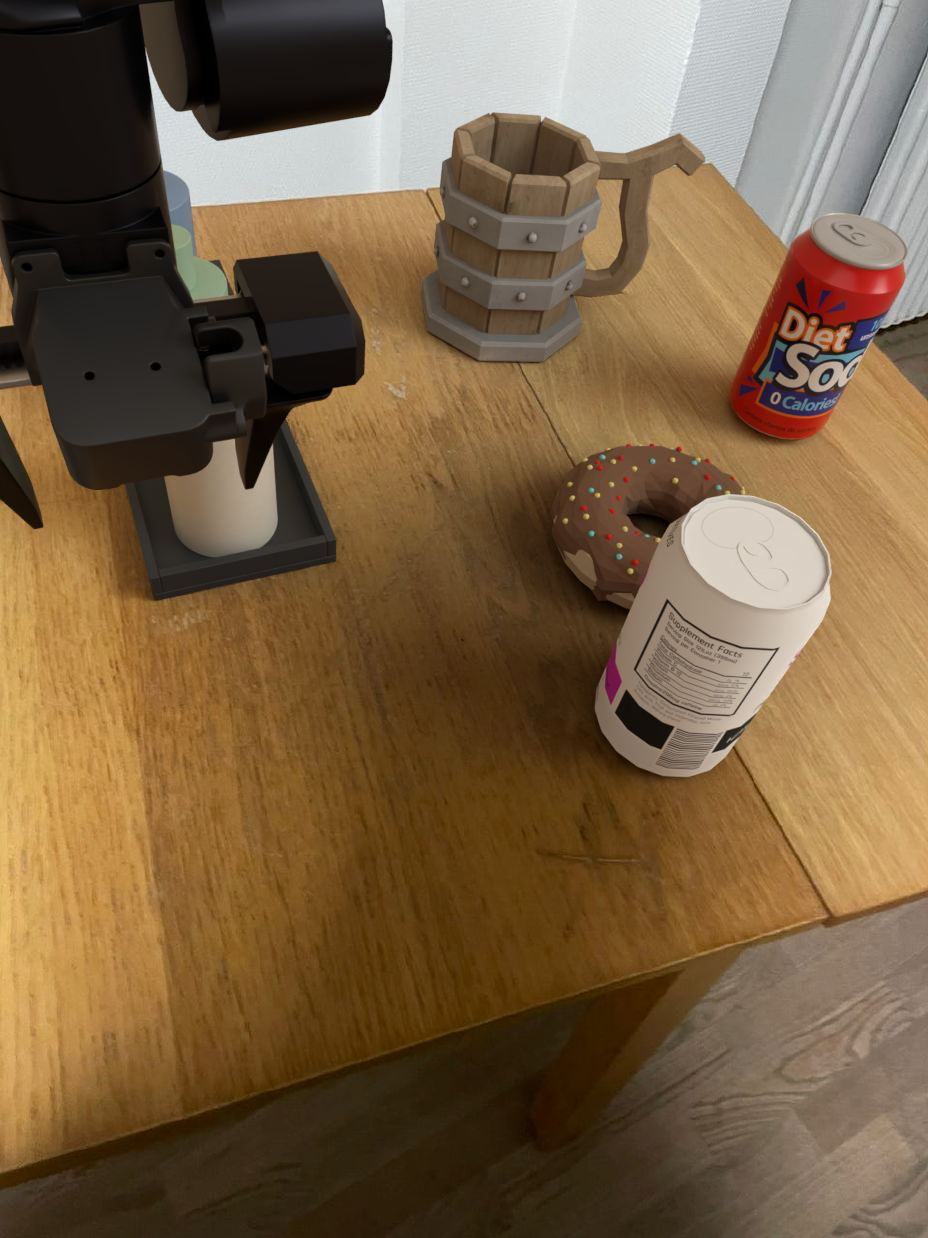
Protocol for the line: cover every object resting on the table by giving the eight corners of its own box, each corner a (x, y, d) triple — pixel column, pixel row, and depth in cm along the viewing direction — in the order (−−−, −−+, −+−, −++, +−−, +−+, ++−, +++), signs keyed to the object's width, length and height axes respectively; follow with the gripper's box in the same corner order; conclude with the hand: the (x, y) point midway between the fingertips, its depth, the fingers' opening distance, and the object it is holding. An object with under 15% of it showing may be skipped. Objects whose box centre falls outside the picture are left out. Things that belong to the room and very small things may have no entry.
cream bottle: (185, 568, 55) (152, 396, 45) (164, 495, 58) (129, 320, 48) (289, 546, 57) (280, 377, 47) (263, 477, 60) (250, 305, 50)
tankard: (431, 361, 71) (452, 170, 59) (416, 269, 78) (431, 84, 67) (673, 366, 74) (739, 186, 63) (636, 277, 82) (688, 102, 70)
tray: (154, 601, 54) (149, 579, 52) (76, 299, 70) (71, 274, 69) (336, 561, 57) (336, 539, 56) (222, 282, 74) (219, 258, 72)
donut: (640, 667, 55) (664, 617, 51) (505, 523, 61) (518, 468, 57) (793, 576, 61) (825, 526, 57) (657, 453, 67) (677, 400, 63)
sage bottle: (154, 448, 61) (119, 272, 51) (136, 388, 64) (100, 212, 54) (249, 432, 63) (234, 260, 53) (227, 375, 66) (209, 202, 56)
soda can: (773, 372, 75) (855, 196, 64) (842, 430, 72) (943, 255, 60) (704, 398, 72) (777, 218, 60) (772, 459, 69) (864, 281, 57)
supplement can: (569, 680, 54) (636, 502, 42) (687, 649, 56) (782, 472, 45) (630, 800, 50) (724, 638, 38) (756, 760, 52) (881, 597, 40)
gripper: (-295, 350, 22) (-70, 698, 34) (429, 265, 28) (398, 588, 40) (-270, 129, 28) (-86, 494, 40) (323, 97, 34) (325, 424, 46)
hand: (146, 501), depth 41 cm, fingers open, 9 cm apart
